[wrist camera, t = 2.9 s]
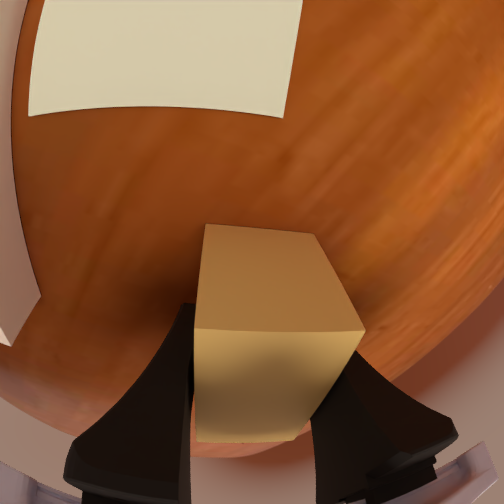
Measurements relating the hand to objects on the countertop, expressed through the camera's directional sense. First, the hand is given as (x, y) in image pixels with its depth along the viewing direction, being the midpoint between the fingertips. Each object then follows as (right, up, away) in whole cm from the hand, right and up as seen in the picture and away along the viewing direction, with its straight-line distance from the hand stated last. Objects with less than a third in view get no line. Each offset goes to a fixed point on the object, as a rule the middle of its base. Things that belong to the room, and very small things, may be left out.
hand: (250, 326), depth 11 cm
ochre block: (0, +1, +1) cm, 1 cm away
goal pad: (-3, +10, -5) cm, 12 cm away
